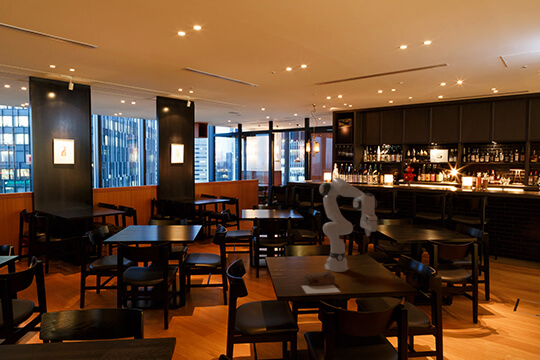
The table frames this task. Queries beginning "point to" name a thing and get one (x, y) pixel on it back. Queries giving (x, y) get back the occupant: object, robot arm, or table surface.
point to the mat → (320, 289)
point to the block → (319, 278)
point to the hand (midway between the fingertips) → (367, 235)
